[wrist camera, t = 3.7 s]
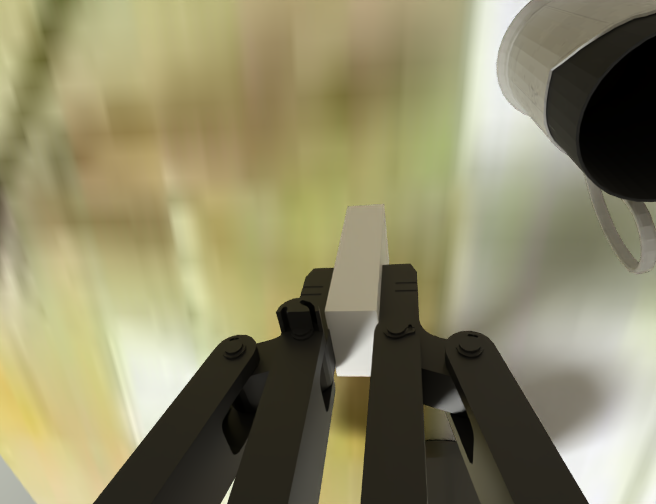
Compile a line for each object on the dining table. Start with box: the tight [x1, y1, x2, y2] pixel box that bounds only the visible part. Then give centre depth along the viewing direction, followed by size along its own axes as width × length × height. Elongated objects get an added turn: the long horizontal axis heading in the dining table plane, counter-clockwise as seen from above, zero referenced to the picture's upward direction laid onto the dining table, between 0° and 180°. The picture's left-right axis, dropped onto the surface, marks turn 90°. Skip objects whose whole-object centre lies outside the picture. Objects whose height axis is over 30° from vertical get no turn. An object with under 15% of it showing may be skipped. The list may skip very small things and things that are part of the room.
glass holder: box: [497, 0, 656, 274], centre depth 25 cm, size 9×14×15 cm, turn 17°
